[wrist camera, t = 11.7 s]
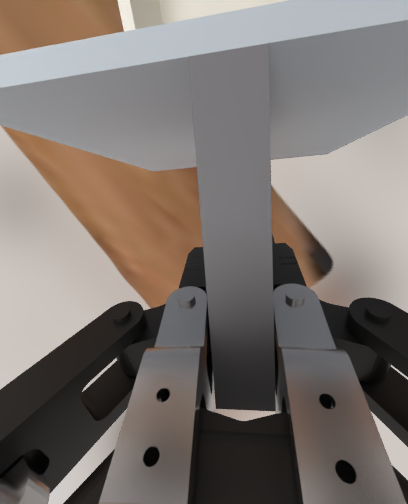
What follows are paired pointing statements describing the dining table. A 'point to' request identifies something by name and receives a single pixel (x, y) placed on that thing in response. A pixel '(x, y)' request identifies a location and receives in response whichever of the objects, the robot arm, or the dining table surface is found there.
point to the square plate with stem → (223, 131)
